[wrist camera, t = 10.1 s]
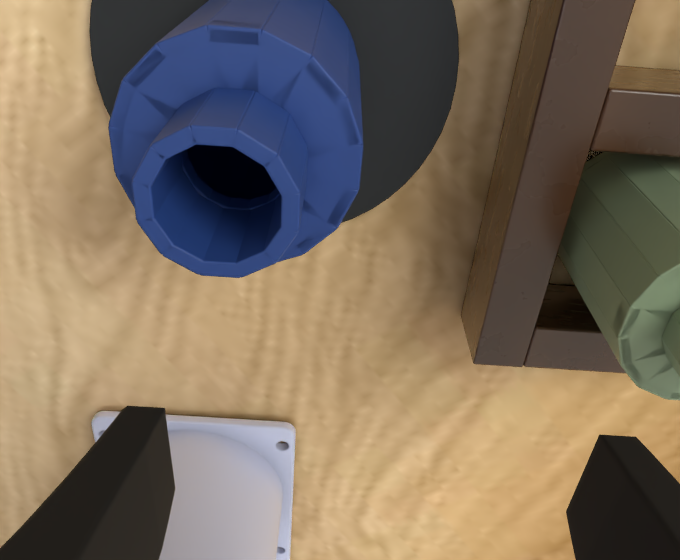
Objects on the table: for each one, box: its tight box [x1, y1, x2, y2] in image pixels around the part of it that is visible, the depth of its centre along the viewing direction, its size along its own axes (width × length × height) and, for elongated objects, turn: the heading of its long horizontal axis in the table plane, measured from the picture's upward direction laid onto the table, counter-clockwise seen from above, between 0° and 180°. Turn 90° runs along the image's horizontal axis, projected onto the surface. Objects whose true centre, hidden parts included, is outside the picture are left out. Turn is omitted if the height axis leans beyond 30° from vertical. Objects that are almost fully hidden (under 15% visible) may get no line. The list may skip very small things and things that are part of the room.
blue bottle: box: [108, 0, 363, 278], centre depth 13 cm, size 5×5×8 cm
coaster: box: [90, 0, 459, 223], centre depth 17 cm, size 10×10×1 cm
